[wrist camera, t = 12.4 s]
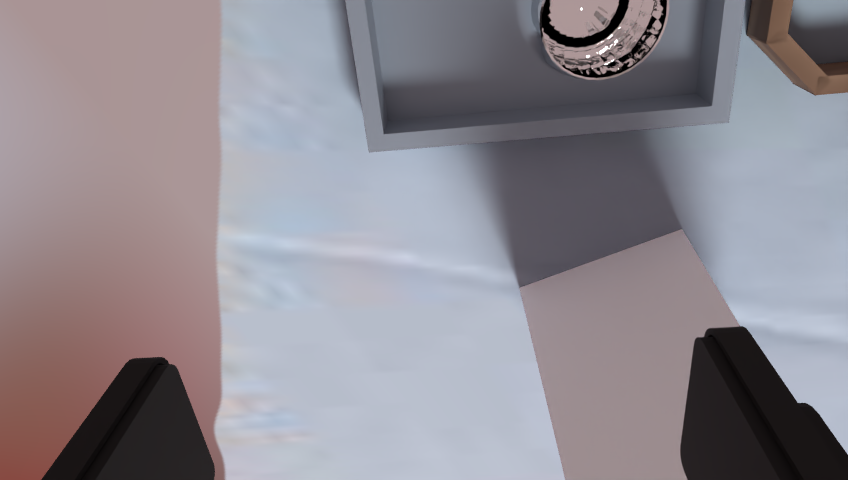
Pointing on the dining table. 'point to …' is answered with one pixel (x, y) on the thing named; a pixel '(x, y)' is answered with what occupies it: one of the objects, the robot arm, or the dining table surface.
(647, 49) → the wineglass
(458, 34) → the tray
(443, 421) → the dining table surface
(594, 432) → the milk
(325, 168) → the dining table surface
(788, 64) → the collar
